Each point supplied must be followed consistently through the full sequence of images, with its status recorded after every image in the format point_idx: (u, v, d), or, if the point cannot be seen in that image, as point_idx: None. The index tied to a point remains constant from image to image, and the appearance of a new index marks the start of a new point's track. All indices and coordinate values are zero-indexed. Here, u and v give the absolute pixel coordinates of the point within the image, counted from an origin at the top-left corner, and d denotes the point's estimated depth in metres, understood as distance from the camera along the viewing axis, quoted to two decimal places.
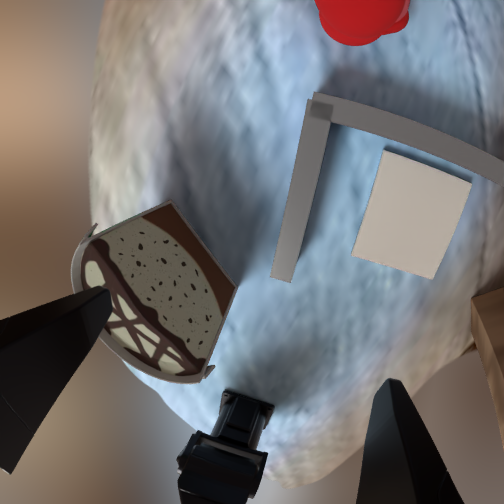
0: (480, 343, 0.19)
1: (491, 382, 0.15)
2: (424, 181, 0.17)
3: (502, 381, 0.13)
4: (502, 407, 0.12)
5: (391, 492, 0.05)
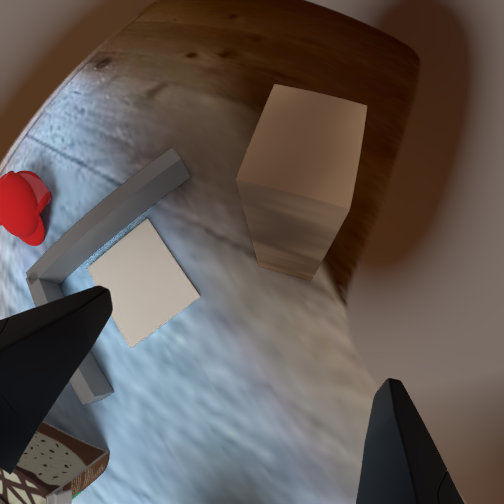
0: (294, 266, 0.19)
1: (307, 251, 0.16)
2: (119, 254, 0.24)
3: (255, 223, 0.14)
4: (291, 224, 0.13)
5: (391, 492, 0.05)
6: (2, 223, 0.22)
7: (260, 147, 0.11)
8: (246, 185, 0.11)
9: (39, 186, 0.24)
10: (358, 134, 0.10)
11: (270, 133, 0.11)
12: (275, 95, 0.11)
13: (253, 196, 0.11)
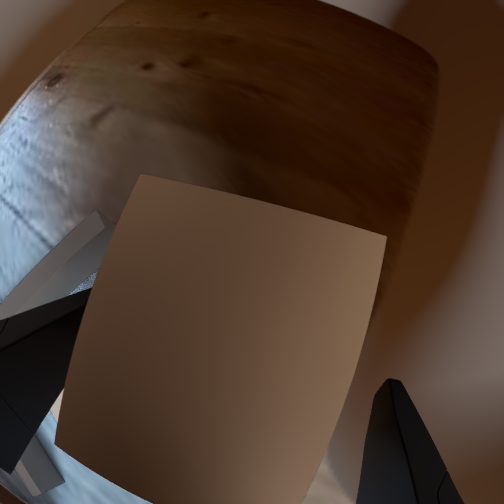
0: None
1: None
2: None
3: None
4: None
5: (391, 492, 0.05)
6: None
7: (87, 385, 0.04)
8: None
9: None
10: (346, 353, 0.04)
11: (107, 347, 0.04)
12: (134, 215, 0.05)
13: None
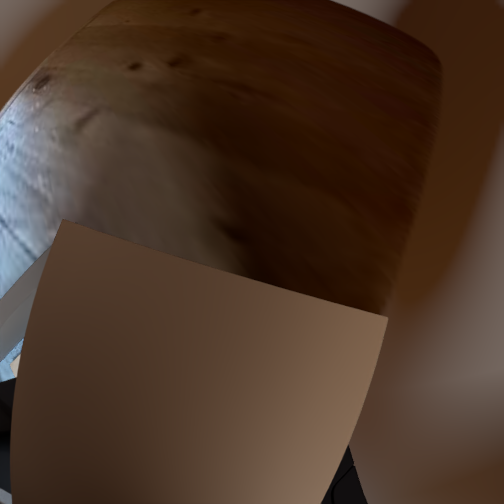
0: None
1: None
2: None
3: None
4: None
5: None
6: None
7: (29, 462, 0.02)
8: None
9: None
10: (317, 472, 0.02)
11: (40, 431, 0.03)
12: (53, 276, 0.03)
13: None
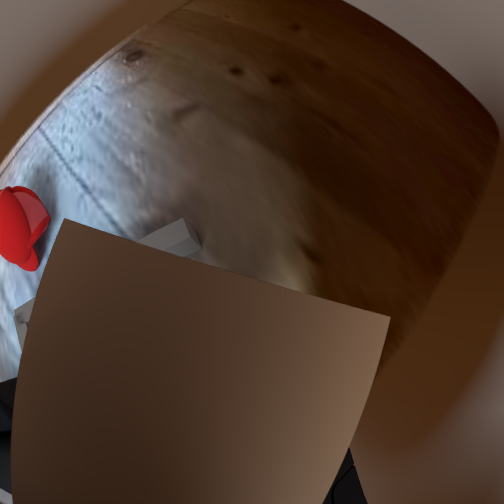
0: None
1: None
2: None
3: None
4: None
5: None
6: None
7: (30, 462, 0.02)
8: None
9: (35, 211, 0.21)
10: (319, 471, 0.02)
11: (41, 430, 0.03)
12: (55, 275, 0.03)
13: None
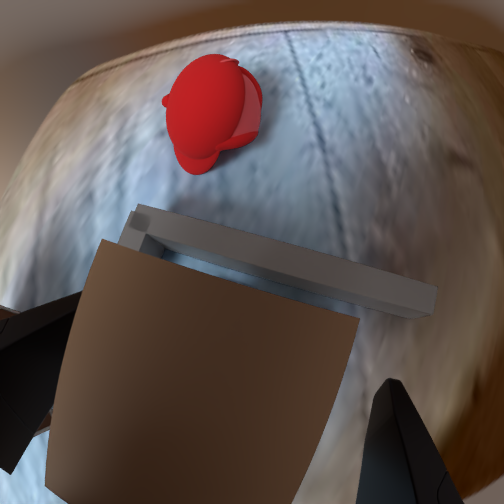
0: None
1: None
2: None
3: None
4: None
5: (391, 492, 0.05)
6: (167, 107, 0.17)
7: (67, 442, 0.04)
8: None
9: (253, 115, 0.18)
10: (307, 436, 0.03)
11: (82, 414, 0.04)
12: (96, 286, 0.04)
13: None
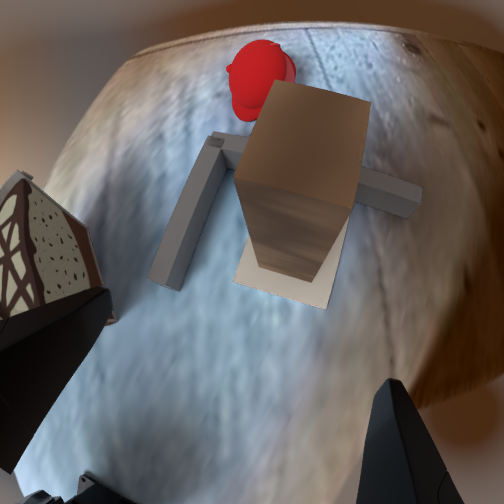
0: (294, 267, 0.19)
1: (308, 252, 0.15)
2: None
3: (254, 223, 0.14)
4: (291, 224, 0.12)
5: (391, 492, 0.05)
6: (231, 72, 0.24)
7: (259, 144, 0.10)
8: (244, 183, 0.10)
9: None
10: (361, 131, 0.10)
11: (270, 130, 0.10)
12: (275, 91, 0.11)
13: (251, 195, 0.11)
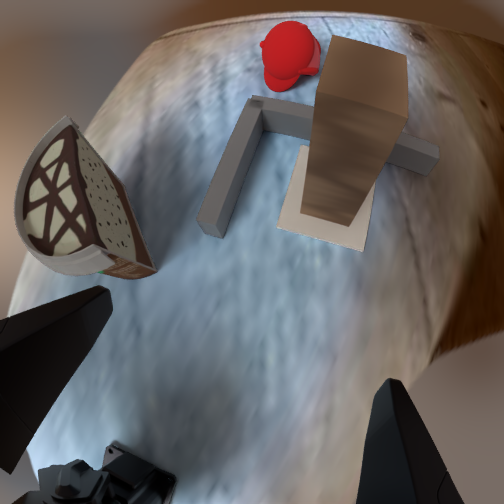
0: (338, 205, 0.20)
1: (358, 179, 0.16)
2: None
3: (317, 147, 0.15)
4: (352, 143, 0.13)
5: (391, 492, 0.05)
6: (264, 47, 0.25)
7: (331, 73, 0.11)
8: (323, 98, 0.11)
9: (317, 58, 0.26)
10: (403, 72, 0.11)
11: (337, 65, 0.11)
12: (335, 42, 0.12)
13: (326, 110, 0.12)
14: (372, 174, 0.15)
